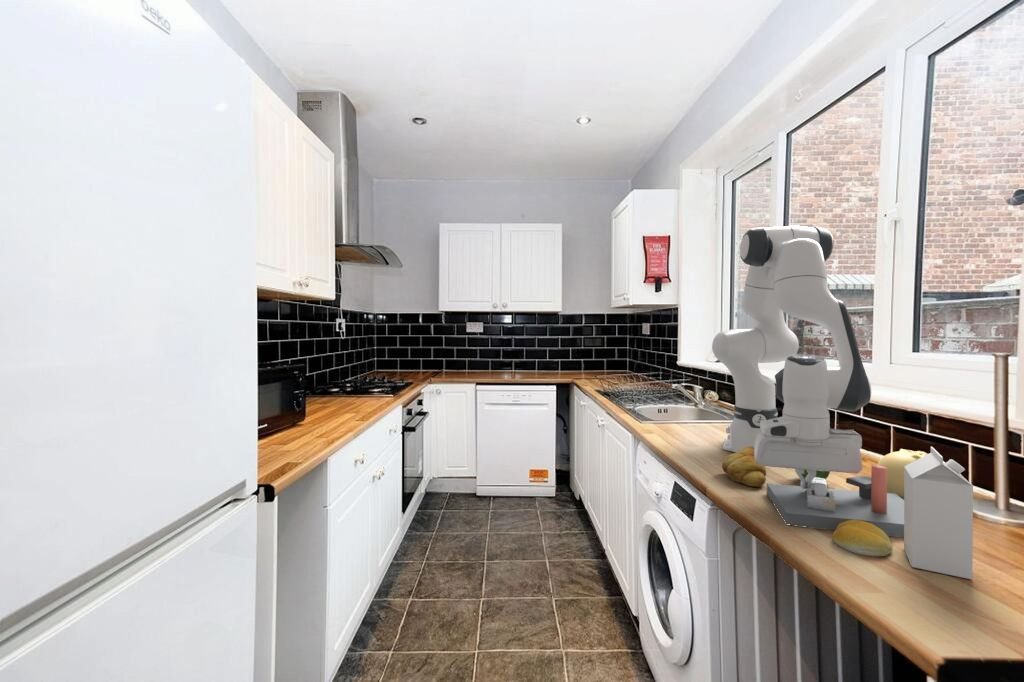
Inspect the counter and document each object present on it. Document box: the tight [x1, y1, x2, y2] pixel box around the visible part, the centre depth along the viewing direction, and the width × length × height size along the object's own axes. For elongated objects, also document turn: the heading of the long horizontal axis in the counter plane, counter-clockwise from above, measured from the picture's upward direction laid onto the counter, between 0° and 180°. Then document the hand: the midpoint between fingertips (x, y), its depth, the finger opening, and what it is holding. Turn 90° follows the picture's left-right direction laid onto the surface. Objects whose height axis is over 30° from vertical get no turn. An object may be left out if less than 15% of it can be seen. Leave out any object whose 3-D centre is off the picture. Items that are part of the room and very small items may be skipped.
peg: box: [870, 464, 887, 514], centre depth 88 cm, size 2×2×9 cm
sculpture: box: [876, 448, 928, 499], centre depth 101 cm, size 12×12×11 cm
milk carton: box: [903, 446, 974, 580], centre depth 73 cm, size 7×7×19 cm
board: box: [766, 475, 904, 538], centre depth 92 cm, size 17×25×7 cm
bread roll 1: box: [721, 446, 767, 488], centre depth 114 cm, size 13×10×8 cm
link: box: [807, 477, 835, 512], centre depth 95 cm, size 13×5×2 cm, turn 148°
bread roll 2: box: [832, 520, 893, 557], centre depth 80 cm, size 8×9×4 cm
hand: (805, 488), depth 99 cm, fingers closed
